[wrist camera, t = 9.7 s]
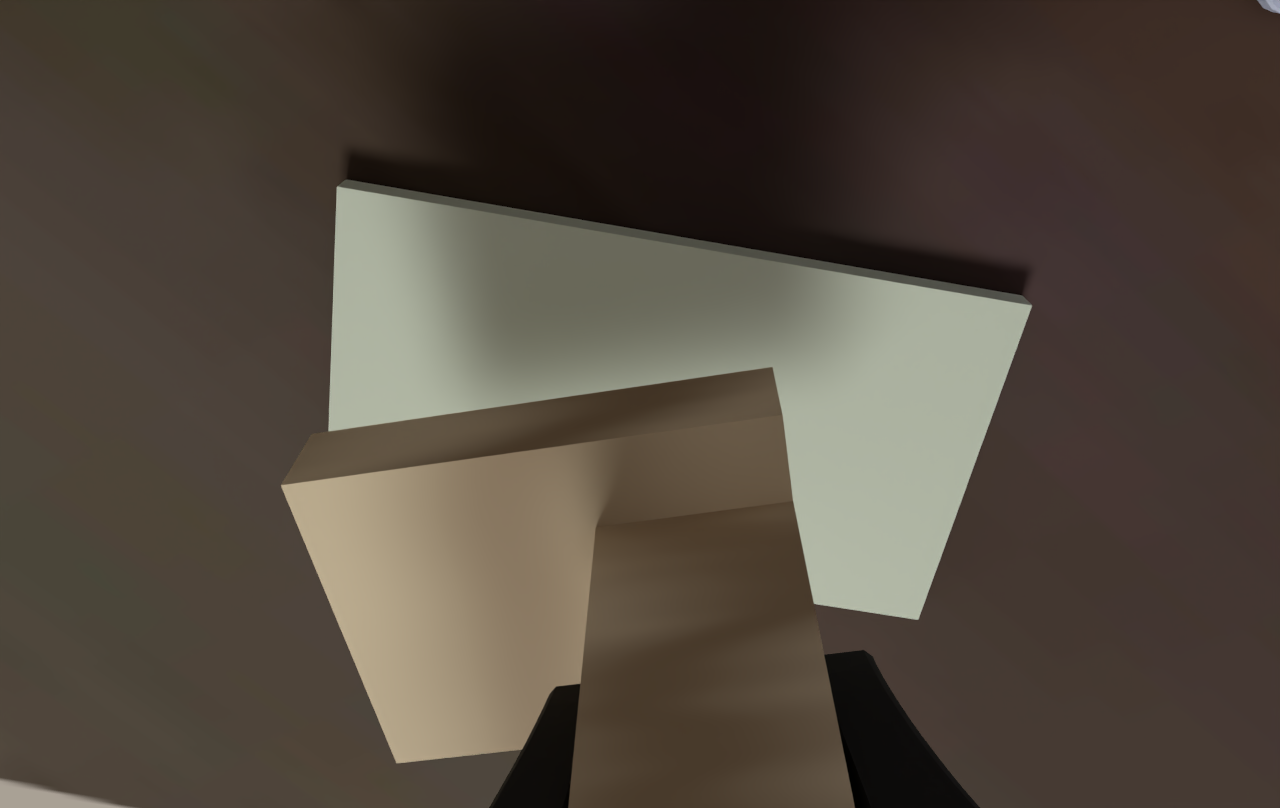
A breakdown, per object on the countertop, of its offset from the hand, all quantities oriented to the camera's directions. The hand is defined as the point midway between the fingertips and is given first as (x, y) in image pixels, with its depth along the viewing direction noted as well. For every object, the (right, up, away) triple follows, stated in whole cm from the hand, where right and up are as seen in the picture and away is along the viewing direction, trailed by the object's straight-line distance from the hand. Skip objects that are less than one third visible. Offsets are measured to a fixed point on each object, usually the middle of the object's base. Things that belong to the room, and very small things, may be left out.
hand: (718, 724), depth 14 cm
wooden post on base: (-2, +2, +3) cm, 5 cm away
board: (-1, +4, +8) cm, 9 cm away
